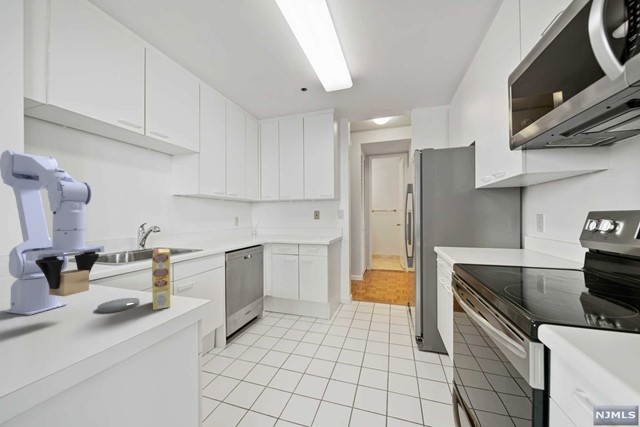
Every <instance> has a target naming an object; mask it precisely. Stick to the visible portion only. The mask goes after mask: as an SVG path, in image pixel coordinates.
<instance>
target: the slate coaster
mask: <svg viewBox="0 0 640 427" xmlns="http://www.w3.org/2000/svg"><path fill="white" fill-rule="evenodd" d="M139 305H140V299H139V298H137V297H124V298H117V299H113V300H108V301H106V302H103V303H100V304H99V305H97V310H96V311H97V312H98V313H100V314H110V313H119V312H122V311H128V310H130V309H133V308H135V307H137V306H139Z"/></svg>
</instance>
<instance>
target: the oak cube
mask: <svg viewBox="0 0 640 427" xmlns="http://www.w3.org/2000/svg"><path fill="white" fill-rule="evenodd" d="M89 287H90V274H89V270H77V269H70V270H64V271H62V272H61V273H60V287H59V289H50V288H49V295H55V296H59V297H68V296H72V295H76V294H80V293H83V292H88V291H89V290H90V288H89Z"/></svg>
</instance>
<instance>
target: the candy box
mask: <svg viewBox="0 0 640 427" xmlns="http://www.w3.org/2000/svg"><path fill="white" fill-rule="evenodd" d="M170 252H171V251H170V249H169V248H159V249H153V251H152V258H151V259H152V265H151V266H152V268H151V270H152V272H151V274H152V278H151V281H152V284H151V285H152V310H153V311H157V310H161V309H167V308H171V257H170V256H171V255H170V254H171V253H170Z"/></svg>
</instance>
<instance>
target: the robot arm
mask: <svg viewBox="0 0 640 427" xmlns="http://www.w3.org/2000/svg"><path fill="white" fill-rule="evenodd" d="M58 167H59V164H58V162H57V159H55V157H54V156H53V157H52V156H43V155H38V154H37V155H36V154H31V153H23V152H18V151H12V150H11V149H10V150H9V149H8V150H7V149H6V150H4V151H2V152H1V155H0V176H1V179H2V182H3V184H5V185H7V186H9V187H10V188H11V187H12V191H13V194H14V197H15V201H16V207H17V214H18V219H19V224H20V230H21V236H22V241H23V242H22V243H20V244H18V245H16V246H14V247H13V248H11V250H10V252H9V254H8V260H9V261H8V271H9V273H10V275H11V277H13V278H14V279H16V280H14V282H13V283H12V284H11V285H10V286H11V287H10V308H8V309H6V310H5V312H4V313H12V314H18V315H29V316H31V315H34V314H37V313H41V312H45V311H49V310H53V309H55V308H60V307H63V306H66V305H68V302H63V301H60V296H55V295H49V288H50V289H59V287H60V273H61V272H63V271H66V269H67V267H68V265H69V256H74V259H75V263H76V270H89V275H90V273H91V270H92V269H93V267H94V265H95V263H96V262H97V260H98V259H99V258H100V254H99V253H104V252H105V244H93V245H86V240H87V239H86V235H87V234H86V233H87V232H86V230H87V229H86V225H87V223H86V222H87V221H86V220H87V219H86V218H87V216H86V215H87V214H86V213H87V211H86V210H87V205H89V203H90V202H91V199H92V189H91V186H90V185H89V183H88V182H84V181H83V182H78V181H77V180H76V179H74V178H73V177H72V176H71V175H70V174H69V173H67V172H66V170H65V169H63V168H58ZM42 189H45V190H46V191H47V199H48V202H49V209H50V211H51V212H52V239H51V238H50V234H49V230H48V224H47V219H46V215H45V210H44V205H43V204H44V203H43V200H42V195H41V191H42Z"/></svg>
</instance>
